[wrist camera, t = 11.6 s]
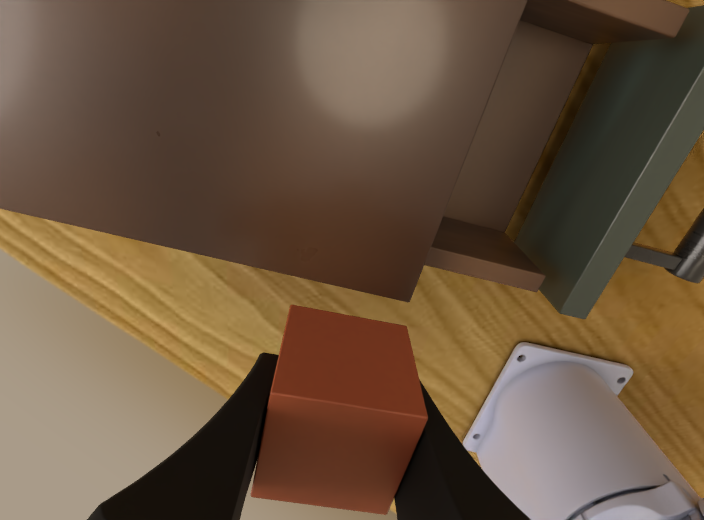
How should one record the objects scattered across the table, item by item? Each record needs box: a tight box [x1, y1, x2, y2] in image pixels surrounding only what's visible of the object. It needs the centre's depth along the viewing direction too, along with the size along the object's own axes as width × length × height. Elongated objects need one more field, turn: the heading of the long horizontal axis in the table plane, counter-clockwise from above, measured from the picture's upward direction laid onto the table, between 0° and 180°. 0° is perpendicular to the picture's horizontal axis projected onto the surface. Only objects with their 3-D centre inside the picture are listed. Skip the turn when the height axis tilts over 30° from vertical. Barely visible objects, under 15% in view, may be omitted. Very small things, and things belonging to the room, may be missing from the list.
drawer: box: [424, 0, 704, 319], centre depth 16 cm, size 18×11×6 cm, turn 75°
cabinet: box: [0, 0, 528, 302], centre depth 15 cm, size 14×12×7 cm
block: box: [251, 305, 428, 515], centre depth 13 cm, size 4×4×4 cm
